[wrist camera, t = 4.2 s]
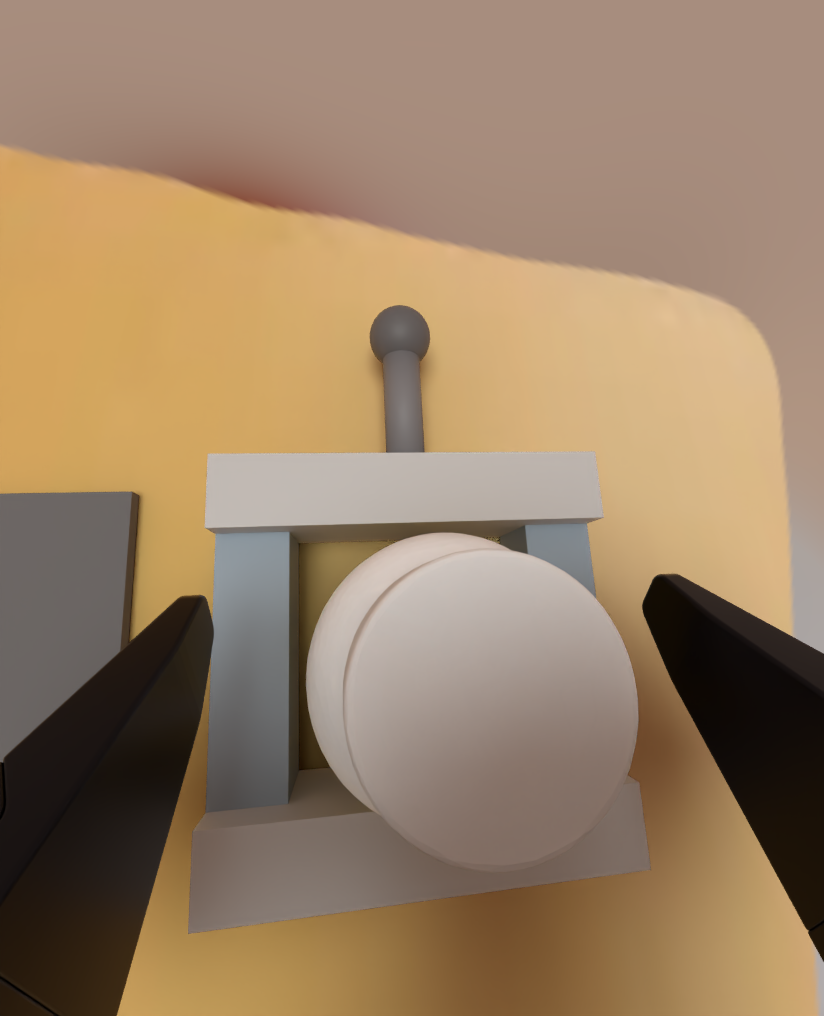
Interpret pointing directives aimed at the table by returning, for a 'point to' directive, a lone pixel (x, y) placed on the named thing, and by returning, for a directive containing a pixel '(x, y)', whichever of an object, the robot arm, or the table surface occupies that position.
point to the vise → (275, 657)
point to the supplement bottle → (473, 700)
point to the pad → (60, 598)
